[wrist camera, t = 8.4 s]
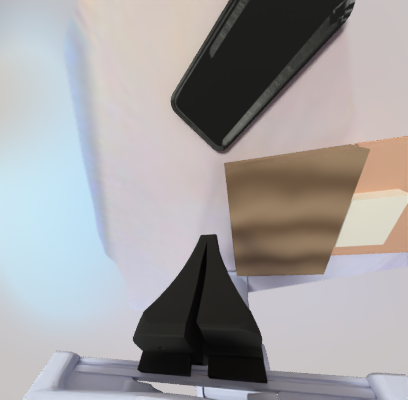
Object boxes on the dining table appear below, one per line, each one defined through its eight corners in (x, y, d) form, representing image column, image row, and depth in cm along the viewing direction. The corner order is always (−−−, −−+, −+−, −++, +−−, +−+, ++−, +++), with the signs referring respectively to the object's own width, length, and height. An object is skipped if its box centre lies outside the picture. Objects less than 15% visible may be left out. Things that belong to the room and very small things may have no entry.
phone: (361, 4, 11) (220, 155, 17) (349, 13, 12) (220, 153, 18) (302, -125, 9) (165, 103, 15) (293, -101, 10) (168, 103, 16)
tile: (373, 236, 22) (383, 244, 21) (328, 239, 23) (335, 247, 22) (398, 188, 18) (412, 194, 17) (342, 194, 19) (351, 200, 18)
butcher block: (315, 260, 26) (323, 274, 24) (235, 264, 28) (236, 276, 26) (350, 144, 16) (370, 149, 14) (224, 163, 19) (225, 169, 16)
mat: (435, 247, 23) (440, 250, 22) (320, 253, 25) (322, 255, 25) (551, 114, 14) (562, 114, 13) (355, 143, 16) (359, 144, 16)
